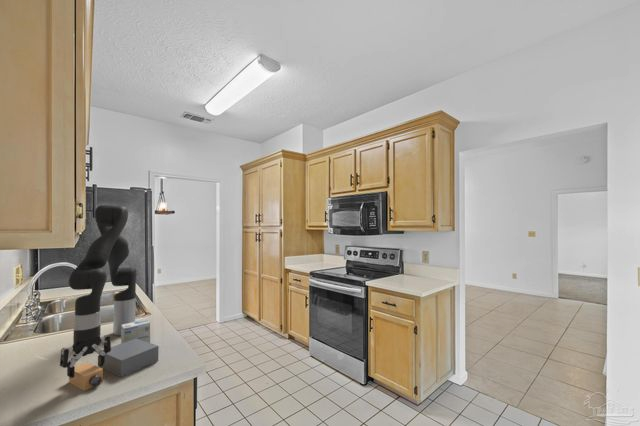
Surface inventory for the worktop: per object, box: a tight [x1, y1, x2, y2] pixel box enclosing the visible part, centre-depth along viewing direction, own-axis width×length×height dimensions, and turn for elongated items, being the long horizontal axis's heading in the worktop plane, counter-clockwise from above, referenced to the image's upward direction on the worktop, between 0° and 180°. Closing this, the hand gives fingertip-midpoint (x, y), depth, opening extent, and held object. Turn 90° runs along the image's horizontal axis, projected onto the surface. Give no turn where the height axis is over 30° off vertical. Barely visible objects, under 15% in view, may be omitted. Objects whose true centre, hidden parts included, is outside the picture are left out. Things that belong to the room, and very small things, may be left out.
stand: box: [101, 338, 160, 378], centre depth 116 cm, size 16×14×6 cm
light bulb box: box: [120, 319, 151, 344], centre depth 131 cm, size 11×7×11 cm, turn 135°
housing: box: [68, 361, 104, 392], centre depth 102 cm, size 13×6×5 cm, turn 62°
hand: (86, 371), depth 102 cm, fingers open, 8 cm apart
